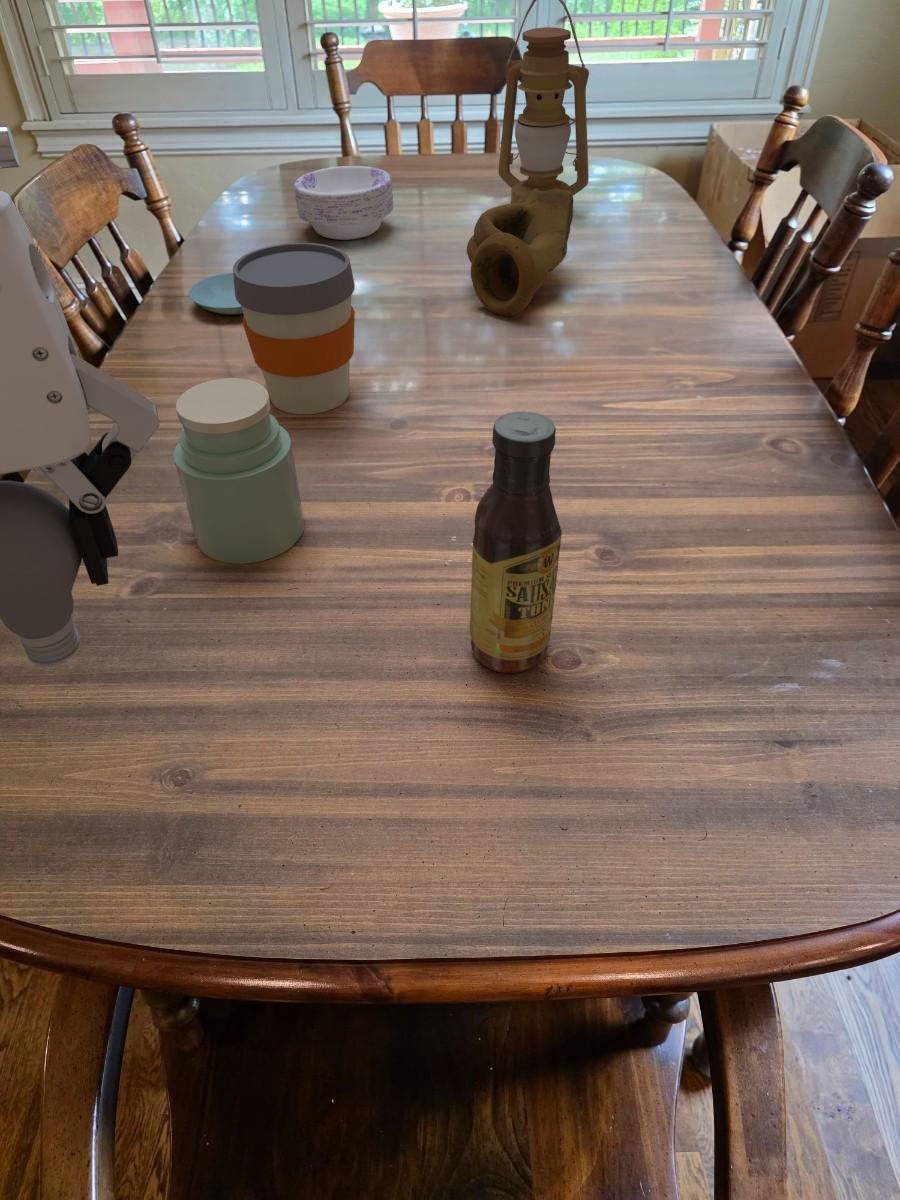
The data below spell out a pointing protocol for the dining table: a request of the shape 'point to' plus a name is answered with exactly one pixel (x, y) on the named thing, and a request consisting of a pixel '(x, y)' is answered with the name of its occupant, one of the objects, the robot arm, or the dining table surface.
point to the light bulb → (38, 572)
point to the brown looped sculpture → (519, 248)
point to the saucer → (217, 294)
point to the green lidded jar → (237, 472)
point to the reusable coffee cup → (299, 322)
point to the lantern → (544, 113)
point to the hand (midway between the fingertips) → (25, 579)
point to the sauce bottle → (515, 548)
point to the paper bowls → (344, 200)
